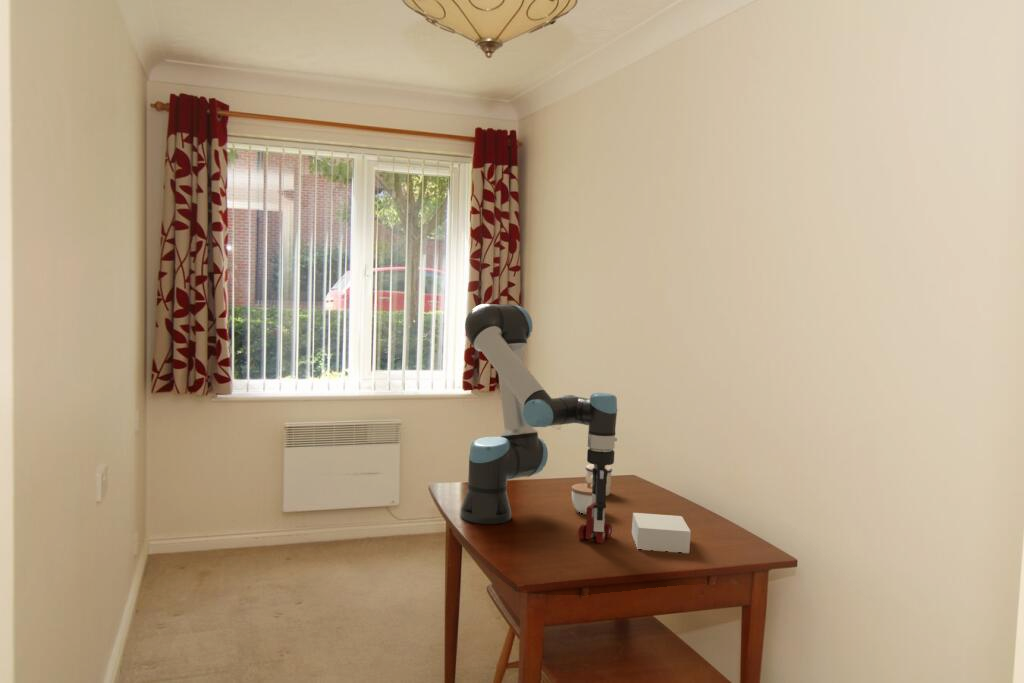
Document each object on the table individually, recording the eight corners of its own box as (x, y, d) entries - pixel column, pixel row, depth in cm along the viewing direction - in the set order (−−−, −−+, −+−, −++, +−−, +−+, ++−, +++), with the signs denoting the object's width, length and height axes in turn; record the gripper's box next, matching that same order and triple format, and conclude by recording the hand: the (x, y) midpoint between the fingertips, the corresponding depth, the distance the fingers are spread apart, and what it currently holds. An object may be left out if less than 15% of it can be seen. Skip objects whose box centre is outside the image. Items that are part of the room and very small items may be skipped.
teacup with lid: (589, 488, 265) (591, 455, 264) (614, 492, 261) (616, 459, 260) (576, 495, 254) (579, 461, 253) (602, 500, 250) (604, 465, 249)
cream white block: (637, 549, 203) (638, 527, 203) (631, 532, 217) (633, 512, 217) (689, 553, 202) (690, 531, 202) (680, 536, 216) (681, 516, 216)
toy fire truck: (614, 534, 215) (616, 499, 214) (598, 547, 204) (601, 509, 203) (591, 530, 218) (593, 495, 217) (575, 541, 207) (577, 504, 206)
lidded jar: (603, 508, 240) (605, 479, 240) (604, 518, 230) (606, 488, 229) (570, 505, 241) (572, 477, 241) (569, 515, 231) (571, 485, 230)
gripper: (618, 459, 196) (614, 538, 197) (611, 441, 221) (607, 512, 222) (590, 457, 197) (585, 536, 198) (585, 440, 222) (581, 510, 223)
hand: (597, 524), depth 210 cm, fingers open, 13 cm apart
